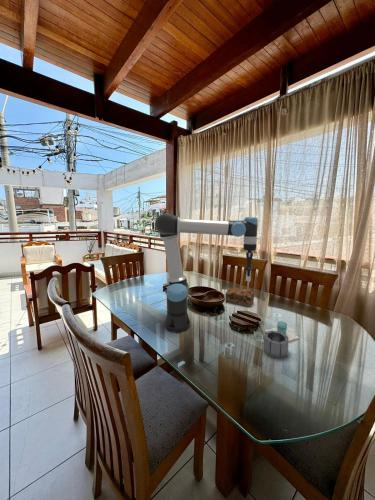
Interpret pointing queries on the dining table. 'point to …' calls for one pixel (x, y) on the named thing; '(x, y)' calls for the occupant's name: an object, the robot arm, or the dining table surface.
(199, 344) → the dining table surface
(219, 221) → the robot arm
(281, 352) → the ring
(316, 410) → the dining table surface
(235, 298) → the bread
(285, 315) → the dining table surface
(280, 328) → the block
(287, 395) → the dining table surface
